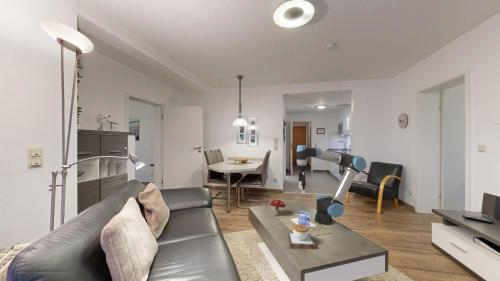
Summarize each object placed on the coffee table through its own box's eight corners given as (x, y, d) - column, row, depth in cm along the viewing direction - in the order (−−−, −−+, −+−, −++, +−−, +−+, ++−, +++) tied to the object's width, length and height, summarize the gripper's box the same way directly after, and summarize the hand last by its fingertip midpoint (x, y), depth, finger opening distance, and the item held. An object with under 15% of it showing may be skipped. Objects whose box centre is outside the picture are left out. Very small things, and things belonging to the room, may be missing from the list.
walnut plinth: (309, 237, 147) (309, 233, 147) (314, 249, 132) (314, 244, 132) (288, 236, 149) (288, 232, 149) (290, 248, 133) (290, 243, 133)
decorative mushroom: (267, 212, 198) (267, 197, 198) (282, 211, 201) (282, 196, 200) (272, 218, 182) (271, 202, 182) (288, 217, 185) (288, 201, 185)
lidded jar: (299, 243, 133) (299, 229, 133) (289, 236, 143) (289, 223, 143) (311, 240, 138) (311, 226, 138) (302, 233, 147) (301, 220, 147)
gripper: (294, 162, 170) (295, 187, 170) (299, 166, 145) (299, 195, 145) (303, 162, 169) (303, 187, 170) (309, 166, 145) (310, 195, 145)
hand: (301, 191), depth 158 cm, fingers open, 13 cm apart
